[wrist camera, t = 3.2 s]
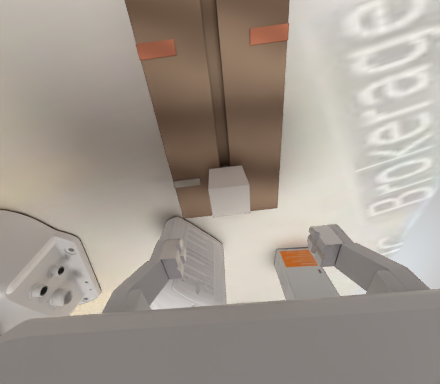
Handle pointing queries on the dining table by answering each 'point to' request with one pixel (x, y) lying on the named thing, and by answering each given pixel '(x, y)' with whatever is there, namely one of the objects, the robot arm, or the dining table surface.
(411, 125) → the dining table surface
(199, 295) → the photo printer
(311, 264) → the skincare box
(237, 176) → the fader knob
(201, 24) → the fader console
